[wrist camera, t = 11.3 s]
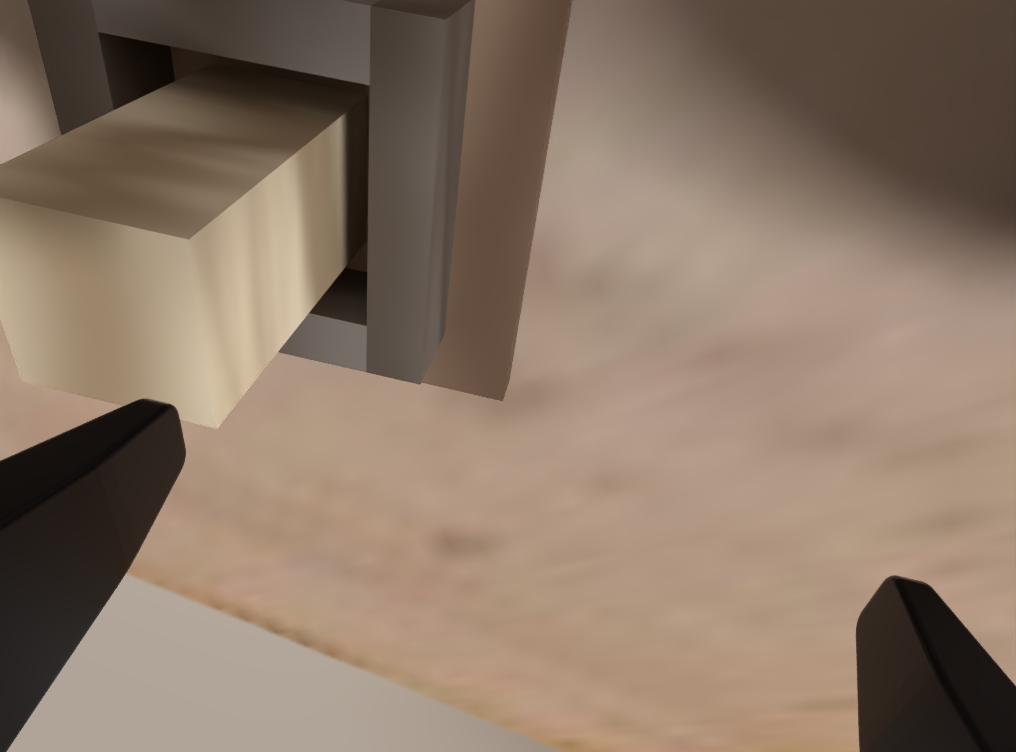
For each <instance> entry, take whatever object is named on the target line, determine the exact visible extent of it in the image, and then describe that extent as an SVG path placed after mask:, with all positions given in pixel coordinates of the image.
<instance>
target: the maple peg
mask: <svg viewBox="0 0 1016 752" xmlns="http://www.w3.org/2000/svg"><path fill="white" fill-rule="evenodd" d="M366 122H367V95H362V94H357V93H352V92H348V91H343V90H338V89H333V88H328V87H323V86H318V85H313V84H308V83H304V82H299V81H294V80H289V79H284V78H279V77H274V76H269V75H264V74H259V73H255V72H250V71H245V70H240V69H235V68H230V67H225V66H220V65H215V64H210V65H208V66H205V67H203V68H201V69H199V70H197V71H195V72H193V73H191V74H189V75H187V76H185V77H183V78H180V79H178V80H176V81H174V82H172V83H170V84H168V85H166V86H164V87H162V88H160V89H157V90H155V91H153V92H151V93H149V94H147V95H145V96H143V97H141V98H139V99H137V100H135V101H132V102H130V103H128V104H126V105H124V106H122V107H120V108H118V109H116V110H114V111H112V112H109V113H107V114H105V115H103V116H101V117H99V118H97V119H95V120H93V121H91V122H89V123H87V124H84V125H82V126H80V127H78V128H76V129H74V130H72V131H70V132H68V133H66V134H64V135H61V136H59V137H57V138H55V139H53V140H51V141H49V142H47V143H45V144H43V145H41V146H39V147H36V148H34V149H32V150H30V151H28V152H26V153H24V154H22V155H20V156H18V157H16V158H13V159H11V160H9V161H7V162H5V163H3V164H1V165H0V320H1V323H2V325H3V328H4V331H5V334H6V337H7V340H8V343H9V345H10V348H11V351H12V354H13V357H14V360H15V362H16V365H17V368H18V371H19V374H20V377H21V379H22V381H23V382H27V383H32V384H36V385H40V386H44V387H48V388H52V389H56V390H60V391H64V392H68V393H73V394H77V395H81V396H85V397H89V398H93V399H97V400H101V401H105V402H110V403H114V404H118V405H122V406H125V405H127V404H129V403H131V402H134V401H136V400H139V399H143V398H148V399H153V400H157V401H161V402H165V403H170V404H172V405H174V406H175V407H176V409H177V410H178V413H179V418H180V420H183V421H188V422H192V423H196V424H200V425H204V426H208V427H212V428H216V429H217V428H218V427H219V426H220V424H221V423H222V422H223V421H224V419H225V418H226V417H227V416H228V414H229V413H230V412H231V410H232V409H233V408H234V407H235V405H236V404H237V403H238V402H239V400H240V399H241V398H242V397H243V395H244V394H245V393H246V392H247V390H248V389H249V388H250V387H251V385H252V384H253V383H254V382H255V380H256V379H257V378H258V376H259V375H260V374H261V373H262V371H263V370H264V369H265V368H266V366H267V365H268V364H269V363H270V361H271V360H272V359H273V358H274V356H275V355H276V354H277V353H278V351H279V350H280V349H281V348H282V346H283V345H284V344H285V342H286V341H287V340H288V339H289V337H290V336H291V335H292V334H293V332H294V331H295V330H296V329H297V327H298V326H299V325H300V324H301V322H302V321H303V320H304V319H305V317H306V316H307V315H308V314H309V312H310V311H311V310H312V308H313V307H314V306H315V305H316V303H317V302H318V301H319V300H320V298H321V297H322V296H323V295H324V293H325V292H326V291H327V290H328V288H329V287H330V286H331V285H332V283H333V282H334V281H335V279H336V278H337V277H338V276H339V274H340V273H341V272H342V271H343V269H344V268H345V267H346V266H347V264H348V263H349V262H350V261H351V259H352V258H353V257H354V256H355V254H356V253H357V252H358V251H359V249H360V248H361V247H362V245H363V244H364V243H365V189H366Z"/></svg>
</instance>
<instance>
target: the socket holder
mask: <svg viewBox="0 0 1016 752" xmlns="http://www.w3.org/2000/svg"><path fill="white" fill-rule="evenodd" d="M28 2H29V6H30V10H31V14H32V18H33V22H34V26H35V30H36V35H37V39H38V43H39V47H40V51H41V55H42V59H43V63H44V67H45V71H46V75H47V79H48V83H49V87H50V91H51V95H52V99H53V103H54V107H55V111H56V115H57V119H58V123H59V127H60V131H61V135H64V134H66V133H68V132H70V131H72V130H74V129H76V128H78V127H80V126H82V125H84V124H87V123H89V122H91V121H93V120H95V119H97V118H99V117H101V116H103V115H105V114H107V113H109V112H112V111H114V110H116V109H118V108H120V107H122V106H124V105H126V104H128V103H130V102H132V101H135V100H137V99H139V98H141V97H143V96H145V95H147V94H149V93H151V92H153V91H155V90H157V89H160V88H162V87H164V86H166V85H168V84H170V83H172V82H174V81H176V80H178V79H180V78H183V77H185V76H187V75H189V74H191V73H193V72H195V71H197V70H199V69H201V68H203V67H205V66H208V65H210V64H215V65H220V66H225V67H230V68H235V69H240V70H245V71H250V72H255V73H259V74H264V75H269V76H274V77H279V78H284V79H289V80H294V81H299V82H304V83H308V84H313V85H318V86H323V87H328V88H333V89H338V90H343V91H348V92H352V93H357V94H362V95H367V122H366V189H365V243H364V244H363V245H362V247H361V248H360V249H359V251H358V252H357V253H356V254H355V256H354V257H353V258H352V259H351V261H350V262H349V263H348V264H347V266H346V267H345V268H344V269H343V271H342V272H341V273H340V274H339V276H338V277H337V278H336V279H335V281H334V282H333V283H332V285H331V286H330V287H329V288H328V290H327V291H326V292H325V293H324V295H323V296H322V297H321V298H320V300H319V301H318V302H317V303H316V305H315V306H314V307H313V308H312V310H311V311H310V312H309V314H308V315H307V316H306V317H305V319H304V320H303V321H302V322H301V324H300V325H299V326H298V327H297V329H296V330H295V331H294V332H293V334H292V335H291V336H290V337H289V339H288V340H287V341H286V342H285V344H284V345H283V346H282V348H281V349H280V350H279V351H278V352H280V353H284V354H289V355H293V356H298V357H302V358H306V359H311V360H315V361H319V362H324V363H328V364H333V365H337V366H341V367H346V368H350V369H354V370H359V371H363V372H368V373H372V374H376V375H381V376H385V377H389V378H394V379H398V380H402V381H407V382H411V383H416V384H421V382H422V383H426V384H430V385H435V386H439V387H444V388H448V389H452V390H457V391H461V392H465V393H470V394H474V395H479V396H483V397H487V398H492V399H496V400H500V401H503V399H504V396H505V392H506V389H507V386H508V383H509V379H510V373H511V367H512V361H513V355H514V348H515V342H516V336H517V330H518V324H519V318H520V312H521V306H522V300H523V294H524V288H525V282H526V276H527V270H528V264H529V258H530V252H531V246H532V240H533V234H534V228H535V222H536V216H537V209H538V203H539V197H540V191H541V185H542V179H543V173H544V167H545V161H546V155H547V149H548V143H549V137H550V131H551V125H552V119H553V113H554V107H555V101H556V95H557V89H558V83H559V76H560V70H561V64H562V58H563V52H564V46H565V40H566V34H567V28H568V22H569V16H570V10H571V4H572V0H28Z"/></svg>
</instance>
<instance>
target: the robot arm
mask: <svg viewBox="0 0 1016 752" xmlns="http://www.w3.org/2000/svg"><path fill="white" fill-rule="evenodd" d="M185 457H186V448H185V443H184V438H183V433H182V428H181V423H180V418H179V413H178V410H177V409H176V407H175V406H174V405H172V404H170V403H165V402H161V401H157V400H153V399H148V398H143V399H139V400H136V401H134V402H131V403H129V404H127V405H125V406H122V407H120V408H118V409H116V410H113V411H111V412H109V413H107V414H104V415H102V416H100V417H98V418H95V419H93V420H91V421H89V422H86V423H84V424H82V425H80V426H77V427H75V428H73V429H71V430H68V431H66V432H64V433H62V434H59V435H57V436H55V437H53V438H51V439H48V440H46V441H44V442H42V443H39V444H37V445H35V446H33V447H30V448H28V449H26V450H24V451H21V452H19V453H17V454H15V455H12V456H10V457H8V458H6V459H3V460H1V461H0V752H6V751H7V750H8V748H9V747H10V746H11V744H12V743H13V741H14V739H15V738H16V737H17V735H18V734H19V732H20V731H21V729H22V728H23V726H24V725H25V723H26V722H27V720H28V719H29V717H30V716H31V714H32V713H33V711H34V710H35V708H36V707H37V705H38V704H39V702H40V701H41V699H42V698H43V696H44V695H45V693H46V692H47V691H48V689H49V688H50V686H51V684H52V683H53V682H54V680H55V679H56V677H57V676H58V674H59V673H60V671H61V670H62V668H63V666H64V665H65V664H66V662H67V661H68V659H69V658H70V656H71V655H72V653H73V652H74V650H75V649H76V647H77V646H78V644H79V643H80V641H81V640H82V638H83V637H84V635H85V634H86V633H87V631H88V630H89V628H90V627H91V625H92V623H93V622H94V621H95V619H96V618H97V616H98V615H99V613H100V612H101V610H102V609H103V607H104V606H105V604H106V603H107V601H108V600H109V598H110V597H111V595H112V594H113V592H114V591H115V589H116V588H117V586H118V585H119V583H120V582H121V580H122V579H123V577H124V576H125V574H126V572H127V571H128V569H129V568H130V566H131V564H132V562H133V560H134V559H135V557H136V555H137V553H138V552H139V550H140V548H141V546H142V544H143V542H144V540H145V538H146V536H147V534H148V533H149V531H150V529H151V527H152V525H153V523H154V521H155V519H156V517H157V515H158V514H159V512H160V510H161V508H162V506H163V504H164V502H165V500H166V498H167V496H168V494H169V493H170V491H171V489H172V487H173V485H174V483H175V481H176V479H177V477H178V475H179V474H180V472H181V470H182V467H183V465H184V462H185ZM856 654H857V690H858V725H859V748H860V752H1016V686H1015V685H1014V683H1013V682H1012V681H1011V680H1010V679H1009V678H1008V676H1007V675H1006V674H1005V673H1004V672H1003V670H1002V669H1001V668H1000V667H999V666H998V665H997V663H996V662H995V661H994V660H993V659H992V657H991V656H990V655H989V654H988V653H987V652H986V650H985V649H984V648H983V647H982V646H981V645H980V643H979V642H978V641H977V640H976V639H975V637H974V636H973V635H972V634H971V633H970V632H969V630H968V629H967V628H966V627H965V626H964V624H963V623H962V622H961V621H960V620H959V619H958V617H957V616H956V615H955V614H954V613H953V612H952V610H951V609H950V608H949V607H948V606H947V604H946V603H945V602H944V601H943V600H942V599H941V597H940V596H939V595H938V594H937V593H936V591H935V590H934V589H933V588H932V587H931V586H929V585H928V584H926V583H924V582H922V581H918V580H913V579H909V578H905V577H901V576H890V577H888V578H886V579H885V580H884V582H883V583H882V584H881V586H880V587H879V588H878V590H877V591H876V593H875V594H874V595H873V597H872V598H871V599H870V601H869V602H868V604H867V605H866V606H865V608H864V609H863V611H862V612H861V614H860V616H859V618H858V622H857V627H856Z"/></svg>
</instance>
